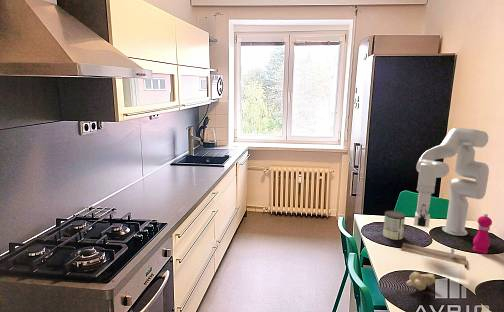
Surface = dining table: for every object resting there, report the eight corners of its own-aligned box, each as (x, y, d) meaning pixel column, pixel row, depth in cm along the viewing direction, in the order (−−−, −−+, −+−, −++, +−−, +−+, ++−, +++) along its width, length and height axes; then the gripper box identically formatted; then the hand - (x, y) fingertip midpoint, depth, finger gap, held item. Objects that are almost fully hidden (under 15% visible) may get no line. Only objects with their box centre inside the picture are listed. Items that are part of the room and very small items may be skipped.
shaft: (450, 256, 167) (451, 248, 166) (453, 256, 166) (454, 248, 165) (450, 258, 164) (451, 250, 163) (453, 259, 163) (454, 251, 163)
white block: (413, 225, 168) (415, 215, 167) (414, 220, 174) (415, 211, 173) (428, 227, 165) (429, 217, 164) (428, 223, 171) (429, 213, 170)
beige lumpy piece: (437, 274, 141) (421, 273, 134) (437, 292, 139) (421, 292, 132) (418, 271, 147) (401, 270, 141) (417, 288, 146) (401, 288, 139)
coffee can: (382, 233, 195) (384, 209, 193) (401, 236, 192) (404, 212, 190) (382, 240, 186) (385, 215, 183) (403, 243, 183) (406, 218, 180)
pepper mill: (491, 255, 172) (497, 216, 169) (475, 253, 174) (481, 215, 170) (484, 248, 179) (490, 212, 176) (469, 247, 181) (475, 210, 177)
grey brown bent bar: (402, 245, 180) (403, 242, 180) (465, 259, 167) (465, 256, 167) (400, 253, 171) (400, 250, 171) (466, 268, 158) (466, 265, 158)
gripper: (417, 183, 175) (413, 216, 179) (416, 191, 160) (412, 228, 164) (434, 185, 172) (429, 219, 175) (434, 194, 157) (430, 231, 160)
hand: (421, 223), depth 169 cm, fingers closed on white block, 6 cm apart
